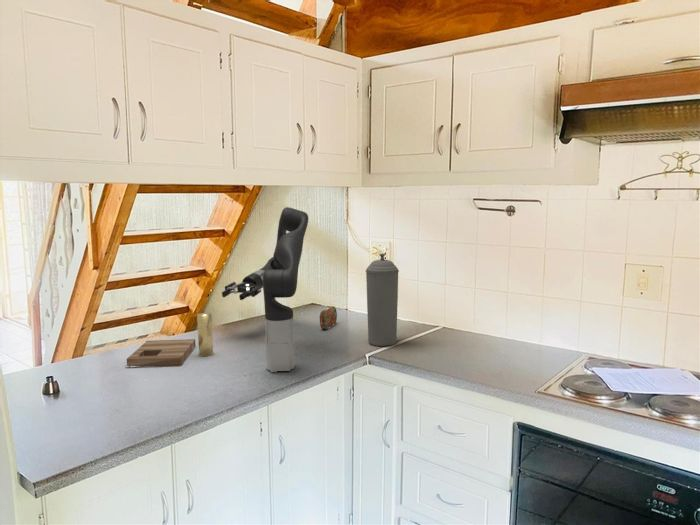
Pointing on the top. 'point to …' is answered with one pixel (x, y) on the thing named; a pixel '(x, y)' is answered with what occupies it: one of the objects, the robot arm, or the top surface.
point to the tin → (328, 317)
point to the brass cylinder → (205, 334)
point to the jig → (162, 353)
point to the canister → (382, 302)
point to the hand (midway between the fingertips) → (231, 296)
